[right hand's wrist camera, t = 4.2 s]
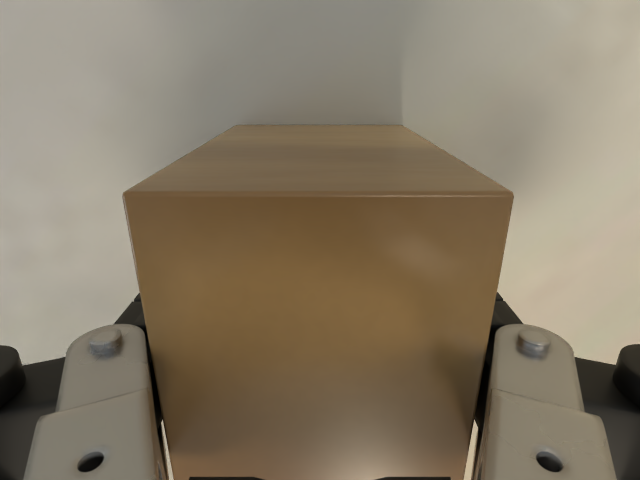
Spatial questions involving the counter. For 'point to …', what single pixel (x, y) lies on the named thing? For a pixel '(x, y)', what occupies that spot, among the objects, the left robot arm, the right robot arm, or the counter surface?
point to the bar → (318, 301)
